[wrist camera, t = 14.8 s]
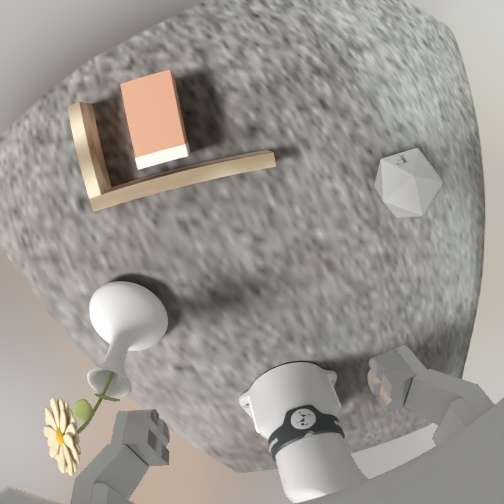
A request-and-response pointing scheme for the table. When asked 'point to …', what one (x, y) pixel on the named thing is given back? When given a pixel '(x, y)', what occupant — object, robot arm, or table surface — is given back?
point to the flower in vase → (107, 361)
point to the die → (407, 183)
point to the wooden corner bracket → (109, 196)
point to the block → (155, 119)
